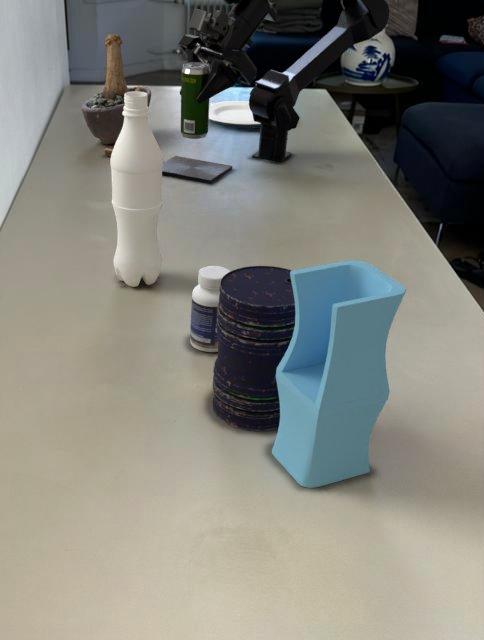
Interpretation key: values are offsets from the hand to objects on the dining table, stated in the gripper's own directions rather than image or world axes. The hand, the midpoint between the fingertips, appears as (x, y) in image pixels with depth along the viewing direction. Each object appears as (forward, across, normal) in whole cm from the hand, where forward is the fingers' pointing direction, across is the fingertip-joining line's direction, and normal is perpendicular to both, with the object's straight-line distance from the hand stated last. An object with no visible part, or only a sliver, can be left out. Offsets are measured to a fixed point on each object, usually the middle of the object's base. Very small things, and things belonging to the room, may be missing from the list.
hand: (189, 98), depth 143 cm
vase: (+37, +86, -18) cm, 96 cm away
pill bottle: (+34, +60, -15) cm, 70 cm away
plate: (-13, -26, +33) cm, 44 cm away
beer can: (+4, 0, +6) cm, 7 cm away
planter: (+10, -26, +9) cm, 30 cm away
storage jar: (+37, +75, -18) cm, 85 cm away
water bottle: (+33, +38, -14) cm, 52 cm away
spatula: (+11, -6, +8) cm, 15 cm away
